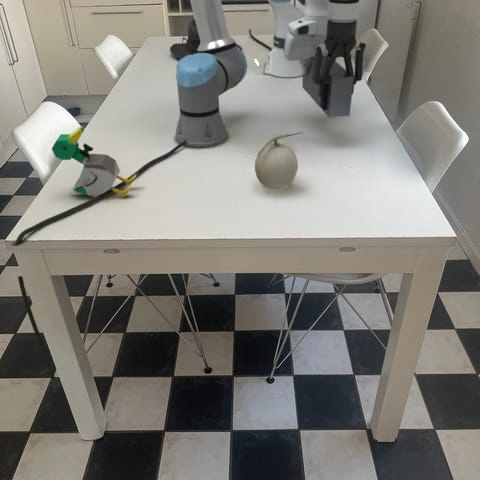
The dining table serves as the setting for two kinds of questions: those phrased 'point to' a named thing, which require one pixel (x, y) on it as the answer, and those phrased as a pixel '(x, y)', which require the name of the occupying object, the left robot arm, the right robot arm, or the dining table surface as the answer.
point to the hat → (189, 43)
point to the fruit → (276, 164)
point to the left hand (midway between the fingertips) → (334, 106)
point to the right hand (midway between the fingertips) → (316, 73)
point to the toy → (89, 166)
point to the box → (331, 88)
